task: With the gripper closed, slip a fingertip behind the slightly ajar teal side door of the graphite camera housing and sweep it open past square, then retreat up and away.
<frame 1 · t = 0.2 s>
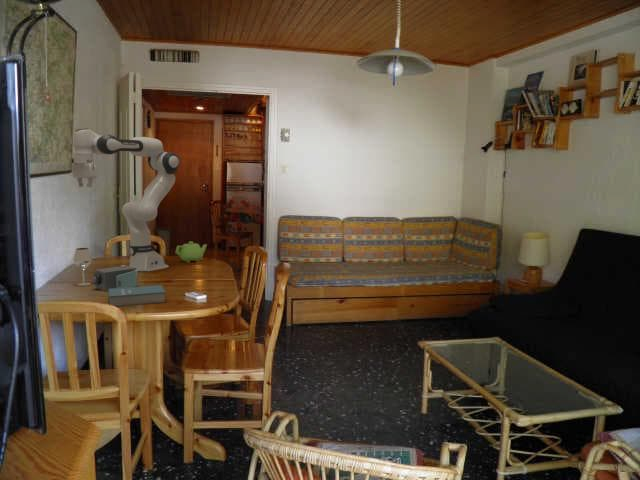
hand: (85, 187, 274), 48 cm above the table, fingers open, 8 cm apart
wineglass: (84, 284, 262), on the table
teapot: (191, 261, 332), on the table
book: (136, 301, 232), on the table
side door: (128, 280, 252), point 4 cm above the table, hinge at 25.0°
housing: (116, 287, 257), on the table
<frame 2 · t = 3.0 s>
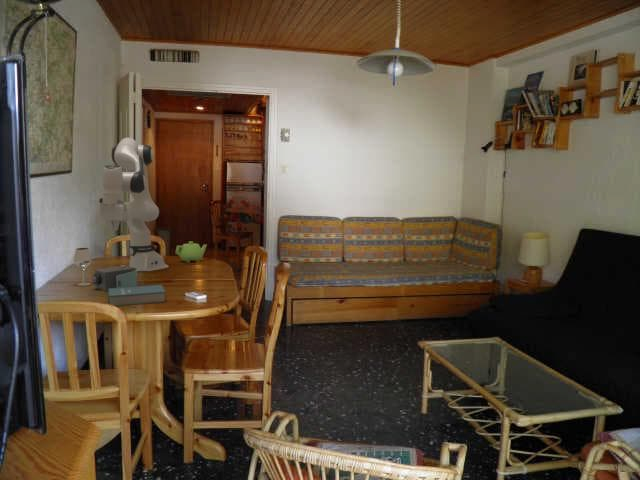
hand: (115, 229, 246), 29 cm above the table, fingers closed
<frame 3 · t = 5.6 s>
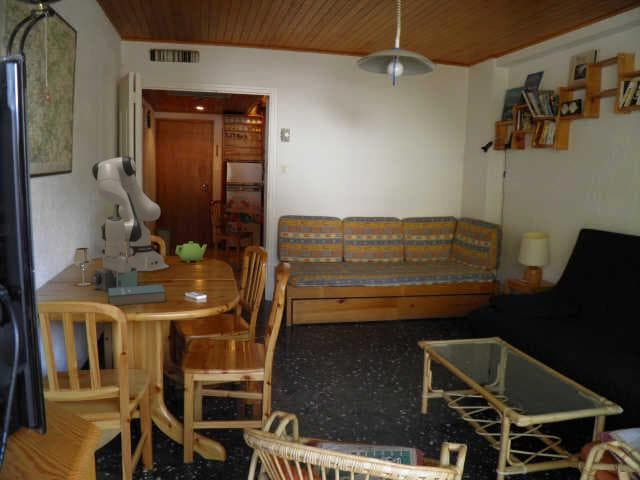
hand: (117, 280, 249), 5 cm above the table, fingers closed
side door: (128, 280, 252), point 4 cm above the table, hinge at 25.0°, touching gripper
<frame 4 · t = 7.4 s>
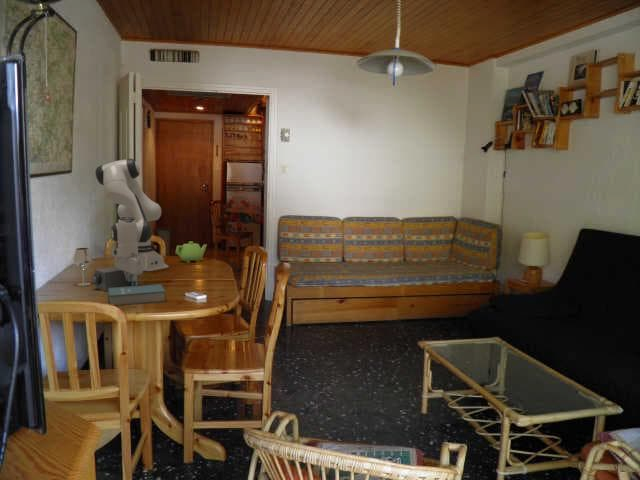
hand: (128, 281, 247), 5 cm above the table, fingers closed
side door: (135, 280, 252), point 4 cm above the table, hinge at 53.6°, touching gripper
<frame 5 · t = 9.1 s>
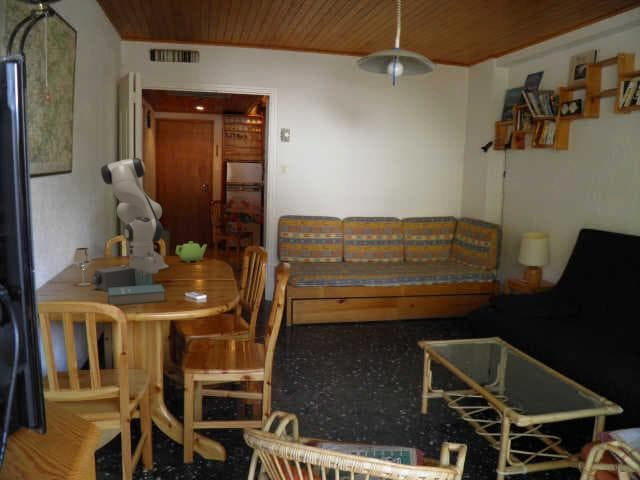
hand: (144, 280, 250), 5 cm above the table, fingers closed, pressing on side door
side door: (144, 279, 254), point 4 cm above the table, hinge at 86.9°, touching gripper
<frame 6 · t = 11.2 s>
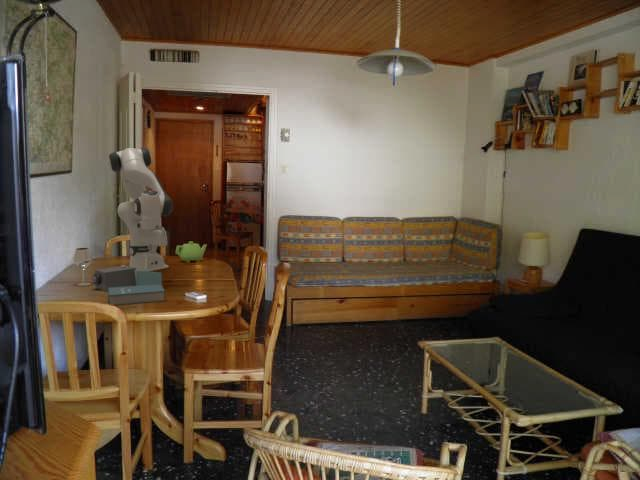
hand: (152, 253, 252), 17 cm above the table, fingers closed
side door: (148, 278, 257), point 4 cm above the table, hinge at 110.2°
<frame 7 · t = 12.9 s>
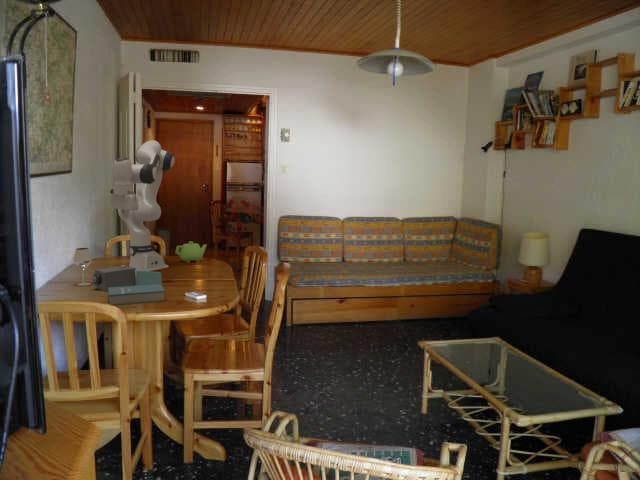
hand: (125, 218, 263), 33 cm above the table, fingers closed
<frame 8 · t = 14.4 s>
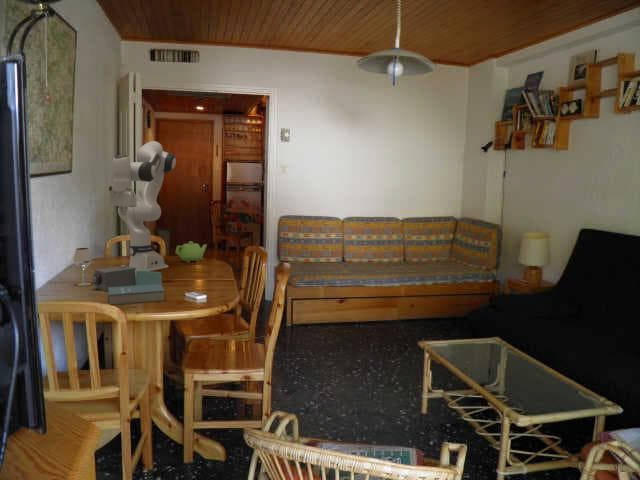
hand: (123, 215, 264), 34 cm above the table, fingers closed
at the end: side door at +110° (first picture: +25°) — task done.
